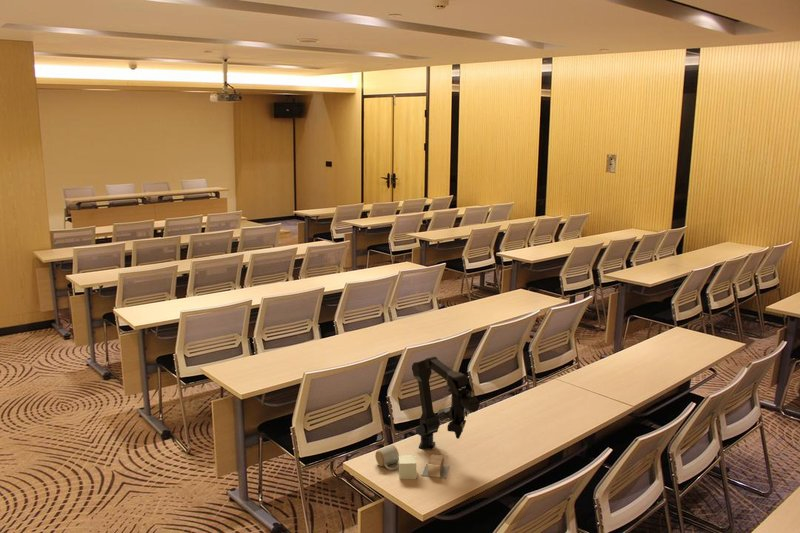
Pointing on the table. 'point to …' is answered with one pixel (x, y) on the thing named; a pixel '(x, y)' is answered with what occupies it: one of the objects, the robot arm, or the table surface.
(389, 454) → the ceramic mug
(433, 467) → the walnut block
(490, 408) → the table surface
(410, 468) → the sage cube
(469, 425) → the table surface
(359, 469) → the table surface
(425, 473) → the felt pad
